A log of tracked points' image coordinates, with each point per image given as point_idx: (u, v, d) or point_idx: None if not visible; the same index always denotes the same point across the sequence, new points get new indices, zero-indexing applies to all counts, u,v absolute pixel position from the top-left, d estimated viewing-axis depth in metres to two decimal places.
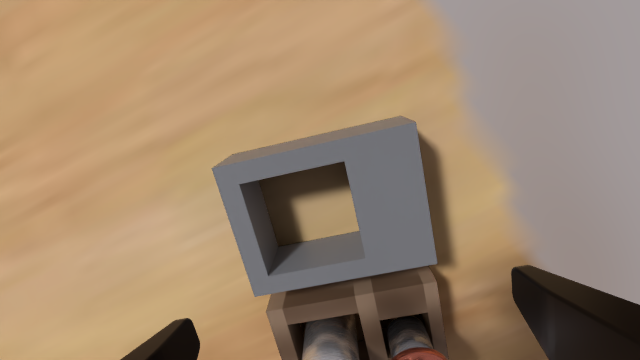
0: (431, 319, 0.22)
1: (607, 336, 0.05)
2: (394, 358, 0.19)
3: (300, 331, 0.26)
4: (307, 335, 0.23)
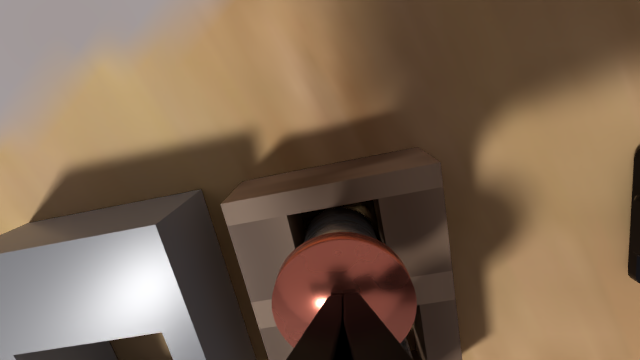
0: (302, 208, 0.12)
1: None
2: None
3: None
4: None
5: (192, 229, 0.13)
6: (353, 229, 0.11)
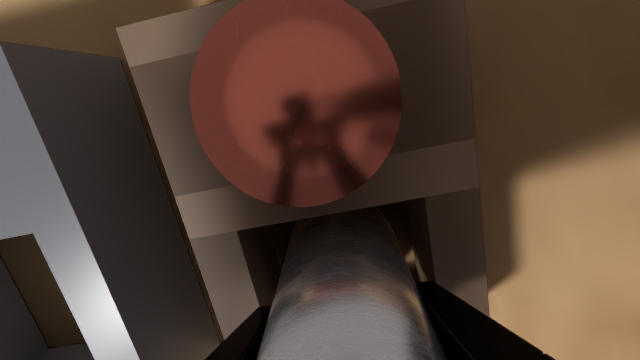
0: None
1: (462, 355, 0.06)
2: None
3: None
4: None
5: (93, 95, 0.09)
6: None
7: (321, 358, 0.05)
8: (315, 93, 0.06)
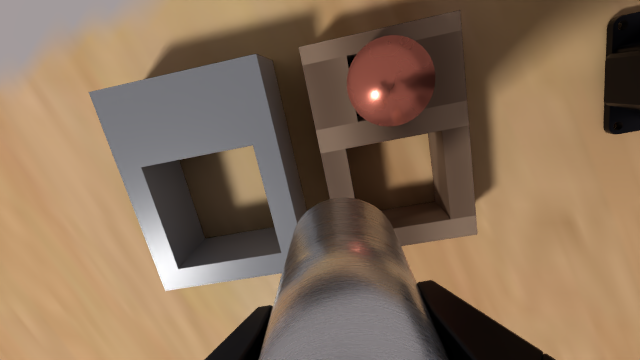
0: (358, 49, 0.16)
1: (462, 355, 0.06)
2: None
3: (401, 209, 0.21)
4: None
5: (270, 80, 0.18)
6: None
7: (324, 358, 0.05)
8: (400, 76, 0.15)
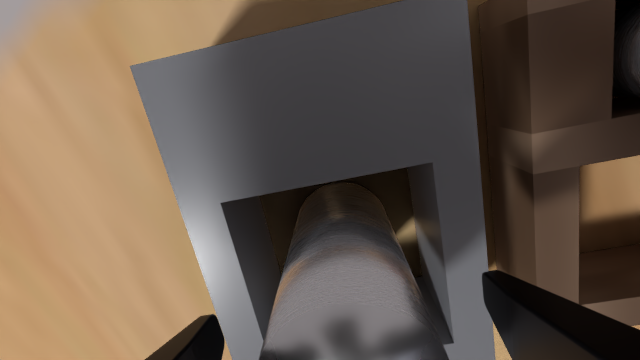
0: None
1: (561, 342, 0.06)
2: None
3: (605, 256, 0.14)
4: None
5: None
6: None
7: (326, 282, 0.07)
8: None
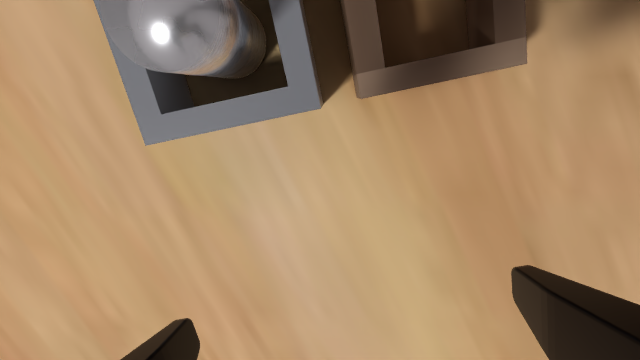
0: None
1: (607, 336, 0.05)
2: None
3: None
4: None
5: None
6: None
7: None
8: None
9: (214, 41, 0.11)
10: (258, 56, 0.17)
